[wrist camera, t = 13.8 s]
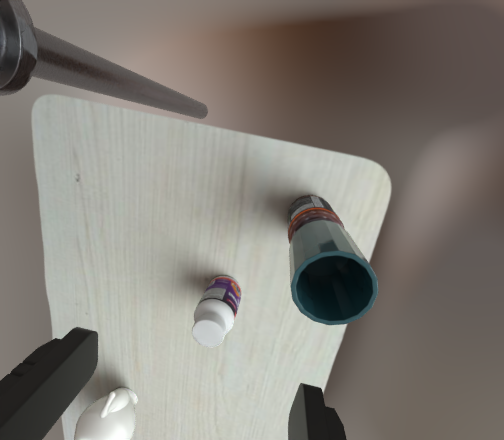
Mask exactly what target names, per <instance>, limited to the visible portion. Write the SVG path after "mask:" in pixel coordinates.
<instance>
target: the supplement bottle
mask: <svg viewBox="0 0 504 440" xmlns="http://www.w3.org/2000/svg"><path fill="white" fill-rule="evenodd" d="M318 220H326V221H331V222H334V223H336V224H338V225H340V226H341V227H343V228H344V226H343V224H342V222H341V220H340V219H339V217H338V216H337V215H336V213H335V212H334V211H333V209H332V208H331V206H330V205H329V204H328V203H327V202H326V201H325V200H324V199H322V198H320V197H318V196H313V195H308V196H303V197H301V198H299V199H297V200H296V201H295V202H294V203H293V204H292V205H291V207H290V209H289V212H288V238H289V243H291V240H292V237H293V236H294V234H295V233H296V231H297V230H298V229H299V228H301V227H302V226H304V225H305V224H307V223H310V222H313V221H318Z"/></svg>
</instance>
